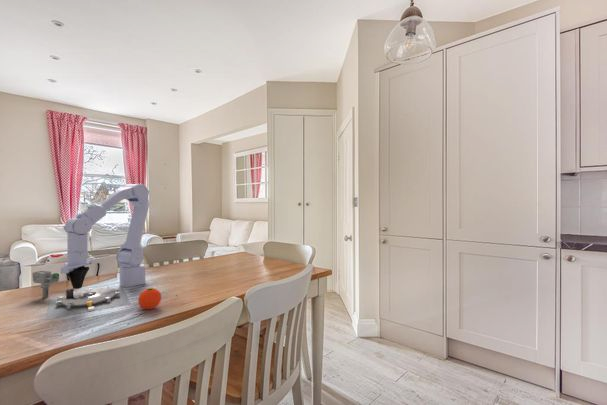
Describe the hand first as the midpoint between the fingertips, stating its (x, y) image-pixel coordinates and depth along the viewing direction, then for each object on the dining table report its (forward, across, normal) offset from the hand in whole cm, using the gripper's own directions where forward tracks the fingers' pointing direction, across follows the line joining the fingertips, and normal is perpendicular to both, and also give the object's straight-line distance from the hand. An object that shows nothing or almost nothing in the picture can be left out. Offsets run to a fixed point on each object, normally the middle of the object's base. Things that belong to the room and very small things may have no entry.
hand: (77, 288), depth 102 cm
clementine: (+5, +10, +28) cm, 31 cm away
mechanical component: (+5, -3, -12) cm, 14 cm away
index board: (+5, +3, +6) cm, 8 cm away
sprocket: (+4, +2, +5) cm, 7 cm away
